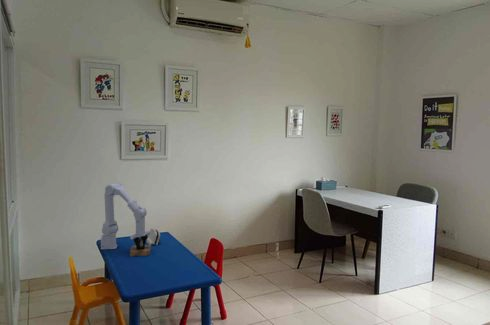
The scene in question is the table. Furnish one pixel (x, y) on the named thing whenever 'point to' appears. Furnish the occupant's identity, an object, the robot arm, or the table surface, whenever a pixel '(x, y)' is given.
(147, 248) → the block
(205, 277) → the table surface
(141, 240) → the pin
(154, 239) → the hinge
